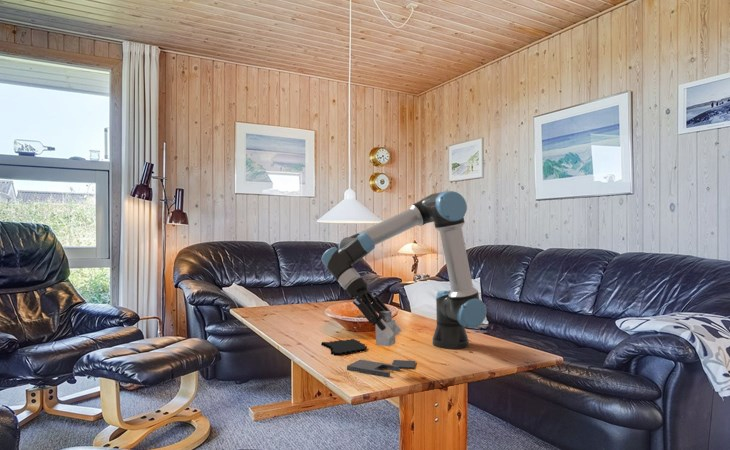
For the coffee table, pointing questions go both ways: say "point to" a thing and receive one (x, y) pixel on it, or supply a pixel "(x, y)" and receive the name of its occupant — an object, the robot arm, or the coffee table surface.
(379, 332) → the stepped metal tower
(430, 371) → the coffee table surface
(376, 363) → the slotted plate
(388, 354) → the coffee table surface
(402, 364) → the pad
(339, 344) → the decorative item
